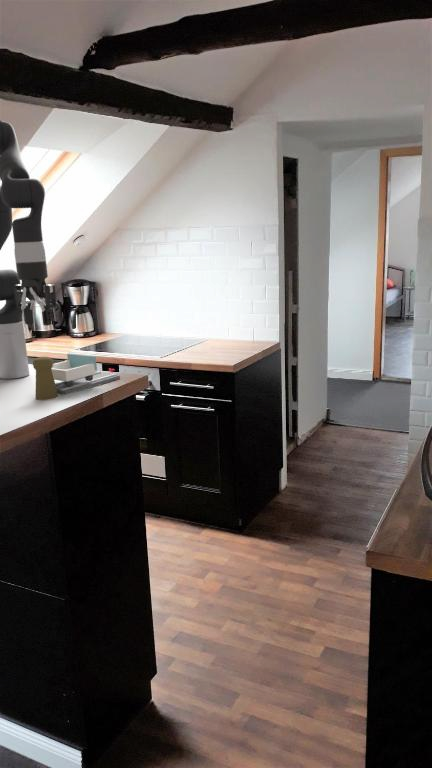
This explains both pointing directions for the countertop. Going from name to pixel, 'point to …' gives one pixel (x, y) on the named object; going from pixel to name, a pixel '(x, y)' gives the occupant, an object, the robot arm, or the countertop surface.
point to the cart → (75, 368)
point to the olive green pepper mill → (44, 379)
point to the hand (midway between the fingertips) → (38, 324)
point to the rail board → (85, 383)
